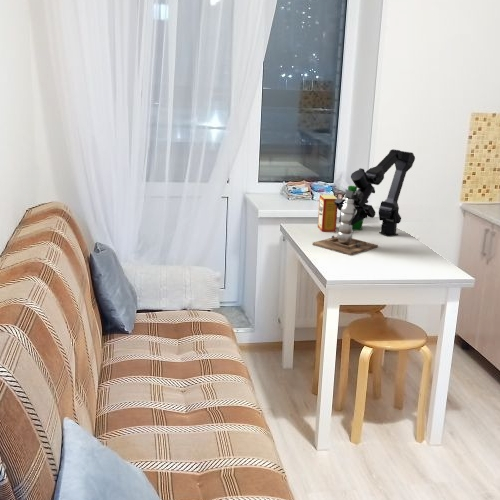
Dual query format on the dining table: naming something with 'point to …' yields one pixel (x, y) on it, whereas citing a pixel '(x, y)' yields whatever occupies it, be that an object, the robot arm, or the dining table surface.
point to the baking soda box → (327, 213)
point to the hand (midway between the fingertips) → (345, 223)
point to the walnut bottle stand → (345, 245)
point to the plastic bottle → (346, 221)
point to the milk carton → (359, 224)
